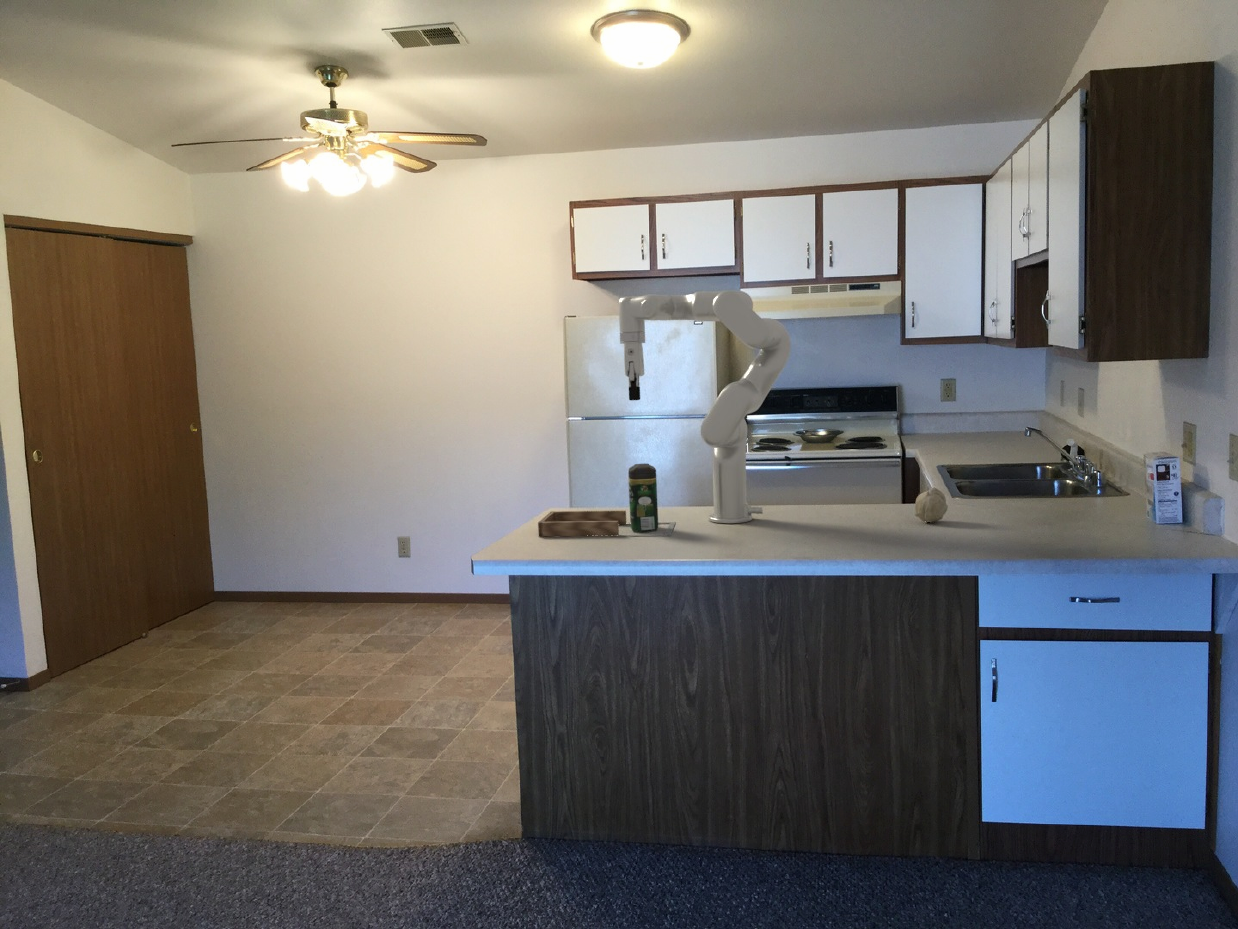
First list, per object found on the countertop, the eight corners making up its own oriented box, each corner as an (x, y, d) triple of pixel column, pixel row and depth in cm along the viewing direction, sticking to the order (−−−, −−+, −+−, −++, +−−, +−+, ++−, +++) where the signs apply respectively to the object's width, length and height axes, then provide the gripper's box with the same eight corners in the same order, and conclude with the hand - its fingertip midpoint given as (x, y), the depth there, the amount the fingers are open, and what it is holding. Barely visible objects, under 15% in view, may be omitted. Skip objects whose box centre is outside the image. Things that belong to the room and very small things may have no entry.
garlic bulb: (945, 519, 270) (945, 484, 269) (952, 525, 262) (952, 489, 261) (910, 520, 271) (910, 485, 270) (916, 526, 263) (916, 489, 262)
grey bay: (675, 522, 281) (675, 522, 281) (670, 536, 262) (670, 535, 262) (626, 523, 283) (626, 522, 283) (617, 536, 264) (617, 535, 264)
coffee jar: (629, 526, 278) (627, 462, 275) (657, 525, 278) (655, 461, 275) (630, 533, 268) (628, 466, 266) (659, 532, 268) (657, 465, 266)
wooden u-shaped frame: (626, 524, 282) (625, 510, 282) (618, 536, 265) (617, 521, 264) (551, 524, 285) (550, 511, 285) (538, 536, 268) (538, 522, 268)
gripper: (642, 338, 281) (644, 401, 284) (647, 338, 296) (649, 398, 298) (616, 339, 282) (619, 402, 285) (623, 338, 297) (625, 398, 299)
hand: (634, 399), depth 291 cm, fingers closed
